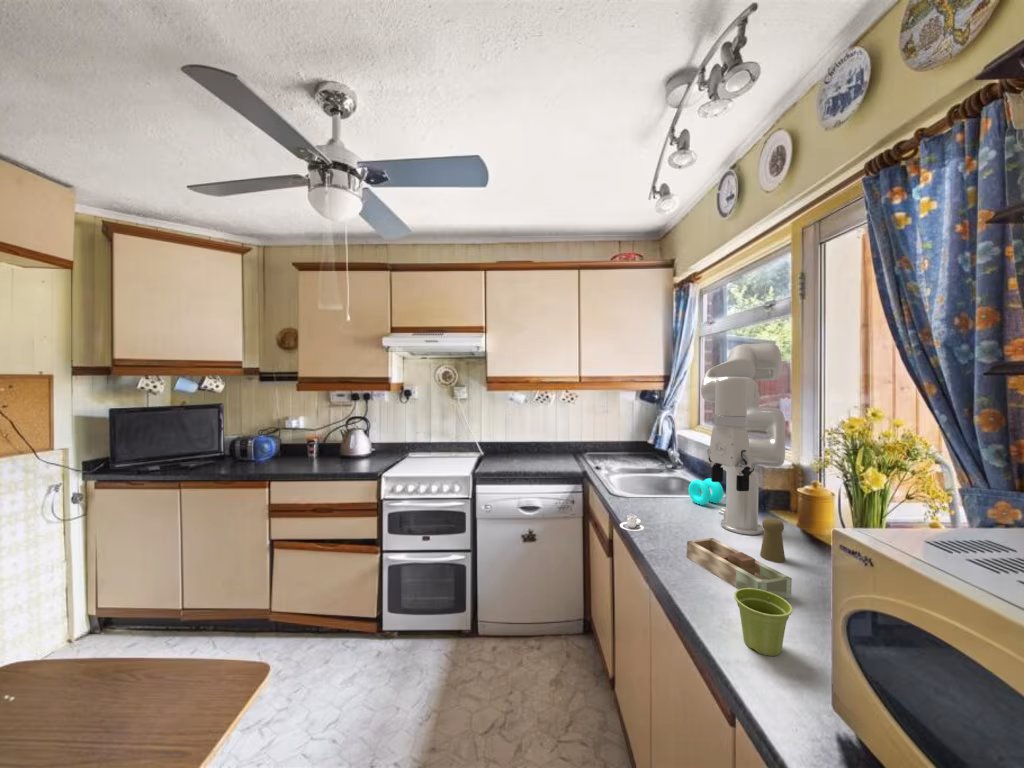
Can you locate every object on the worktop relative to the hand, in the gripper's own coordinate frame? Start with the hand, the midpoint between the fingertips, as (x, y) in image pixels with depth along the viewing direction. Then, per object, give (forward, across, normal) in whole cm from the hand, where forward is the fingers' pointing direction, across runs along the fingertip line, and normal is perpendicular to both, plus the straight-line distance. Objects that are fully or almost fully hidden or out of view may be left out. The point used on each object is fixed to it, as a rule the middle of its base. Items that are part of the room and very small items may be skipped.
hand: (729, 486), depth 106 cm
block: (+20, +6, 0) cm, 21 cm away
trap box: (+22, +3, -1) cm, 23 cm away
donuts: (+21, -51, +30) cm, 63 cm away
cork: (+22, -4, +18) cm, 29 cm away
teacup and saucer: (+22, -31, -9) cm, 40 cm away
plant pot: (+24, +28, -15) cm, 39 cm away
